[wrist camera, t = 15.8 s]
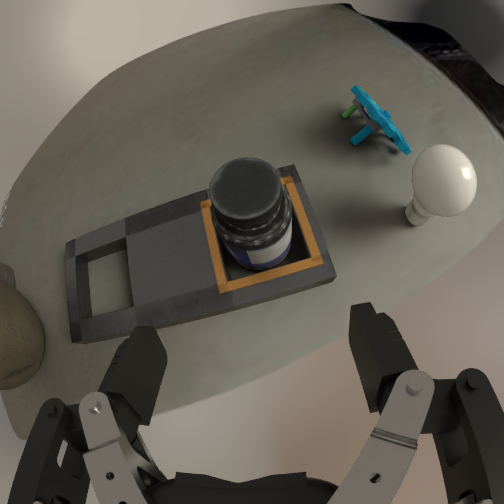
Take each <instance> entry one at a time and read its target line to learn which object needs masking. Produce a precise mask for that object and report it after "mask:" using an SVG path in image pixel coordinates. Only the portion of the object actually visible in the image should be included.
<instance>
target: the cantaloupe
mask: <svg viewBox="0 0 504 504" xmlns="http://www.w3.org/2000/svg"><path fill="white" fill-rule="evenodd" d="M43 351H44V332H43V328H42V324H41V322H40V320H39V318H38V316H37V314H36V312H35V310H34V309H33V307H32V306H31V304H30V303H29V302H28V301H27V300H26V299H25V298H24V297H23V296H22V295H21V294H20V293H19V292H18V291H17V290H16V289H15V288H13V287H12V286H11V285H9V284H8V283H6V282H4V281H2V280H1V279H0V390H8V389H13V388H16V387H18V386H20V385H22V384H24V383H25V382H27V381H28V380H29V379H30V378H31V377H32V376H33V374H34V373H35V372H36V371H37V369H38V367H39V365H40V363H41V361H42V356H43Z"/></svg>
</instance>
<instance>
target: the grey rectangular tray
mask: <svg viewBox="0 0 504 504" xmlns="http://www.w3.org/2000/svg"><path fill="white" fill-rule="evenodd" d="M275 170H276V171H277V173H278V175H279V177H280V180H281V184H283V186H284V187H285V188H286V190H287V191H288V193H289V196H290V198H291V202H292V218H293V221H294V224H295V227H296V230H297V232H298V235H299V238H300V241H301V244H302V247H303V250H304V253H305V256H306V259H304V260H300V261H297V262H294V263H290V264H287V265H284V266H280V267H277V268H273V269H270V270H266V271H263V272H259V273H256V274H252V275H249V276H245V277H242V278H238V279H235V280H231V276H230V272H229V268H228V263H227V259H226V255H225V251H224V247H223V243H222V239H221V237H220V236H219V235H218V233H217V232H216V230H215V228H214V225H213V223H212V219H211V204H212V202H211V199H210V195H209V189H206V190H203V191H200V192H197V193H194V194H191V195H188V196H185V197H182V198H179V199H176V200H173V201H170V202H167V203H165V204H162V205H159V206H156V207H154V208H151V209H148V210H145V211H143V212H140V213H137V214H135V215H132V216H130V217H127V218H124V219H122V220H119V221H117V222H114V223H112V224H109V225H107V226H104V227H102V228H99V229H97V230H95V231H92V232H90V233H88V234H85V235H83V236H81V237H78V238H76V239H74V240H71V241H69V242H67V243H66V288H67V303H68V314H69V324H70V332H71V339H72V343H83V344H87V343H92V342H98V341H103V340H108V339H113V338H118V337H123V336H128V335H131V333H132V331H133V329H134V328H135V327H137V326H153V327H154V328H155V330H156V329H161V328H165V327H169V326H174V325H178V324H182V323H186V322H190V321H195V320H199V319H203V318H207V317H211V316H215V315H219V314H222V313H226V312H230V311H234V310H238V309H241V308H245V307H249V306H252V305H256V304H259V303H263V302H267V301H270V300H274V299H277V298H281V297H284V296H287V295H291V294H294V293H297V292H301V291H304V290H307V289H311V288H314V287H317V286H320V285H323V284H327V283H330V282H332V281H333V280H334V279H335V277H336V276H337V275H336V272H335V269H334V267H333V264H332V261H331V258H330V255H329V252H328V249H327V247H326V244H325V241H324V238H323V236H322V233H321V230H320V228H319V225H318V222H317V220H316V217H315V214H314V212H313V209H312V207H311V204H310V202H309V199H308V197H307V194H306V192H305V189H304V187H303V184H302V182H301V179H300V177H299V175H298V172H297V170H296V168H295V165H294V164H293V165H289V166H286V167H282V168H278V169H275ZM126 248H127V254H128V264H129V273H130V281H131V289H132V296H133V303H134V307H131V308H127V309H123V310H119V311H115V312H111V313H107V314H103V315H99V316H95V317H92V310H91V301H90V290H89V277H88V262H90V261H92V260H95V259H98V258H100V257H103V256H106V255H109V254H111V253H114V252H117V251H120V250H123V249H126Z"/></svg>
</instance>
